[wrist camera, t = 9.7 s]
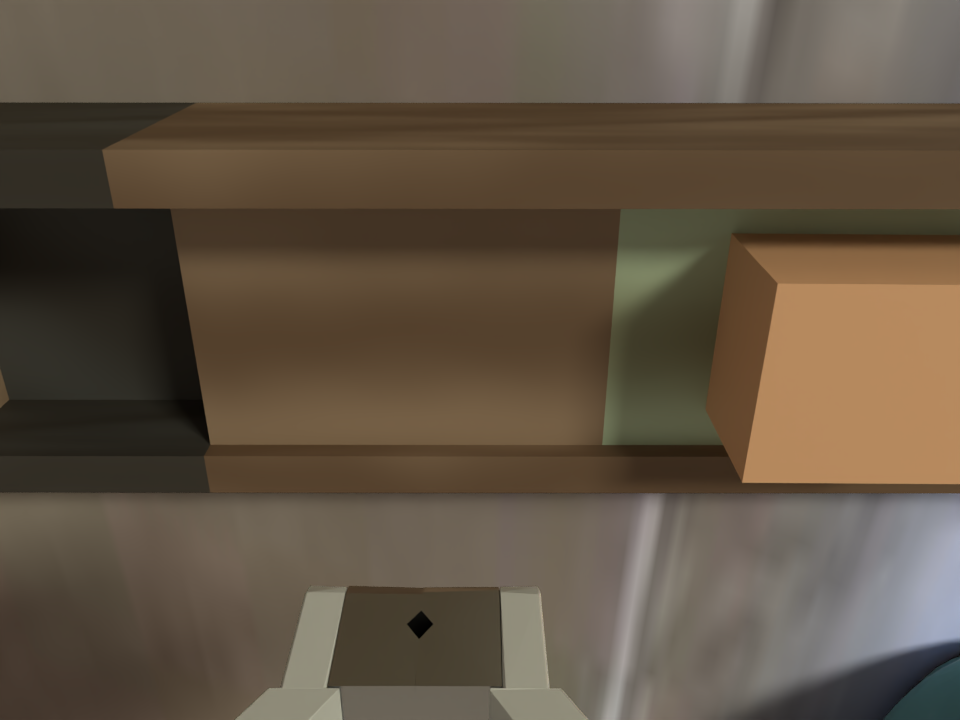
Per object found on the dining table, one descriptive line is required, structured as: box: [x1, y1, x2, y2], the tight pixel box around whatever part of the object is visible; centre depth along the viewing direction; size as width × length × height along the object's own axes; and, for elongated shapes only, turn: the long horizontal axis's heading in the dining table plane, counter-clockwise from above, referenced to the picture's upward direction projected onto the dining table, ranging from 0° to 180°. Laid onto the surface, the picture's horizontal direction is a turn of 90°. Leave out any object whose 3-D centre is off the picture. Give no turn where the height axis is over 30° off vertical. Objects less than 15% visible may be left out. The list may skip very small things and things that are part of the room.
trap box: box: [0, 103, 960, 493], centre depth 21 cm, size 10×40×6 cm, turn 90°
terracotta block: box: [705, 233, 960, 484], centre depth 20 cm, size 5×6×4 cm
